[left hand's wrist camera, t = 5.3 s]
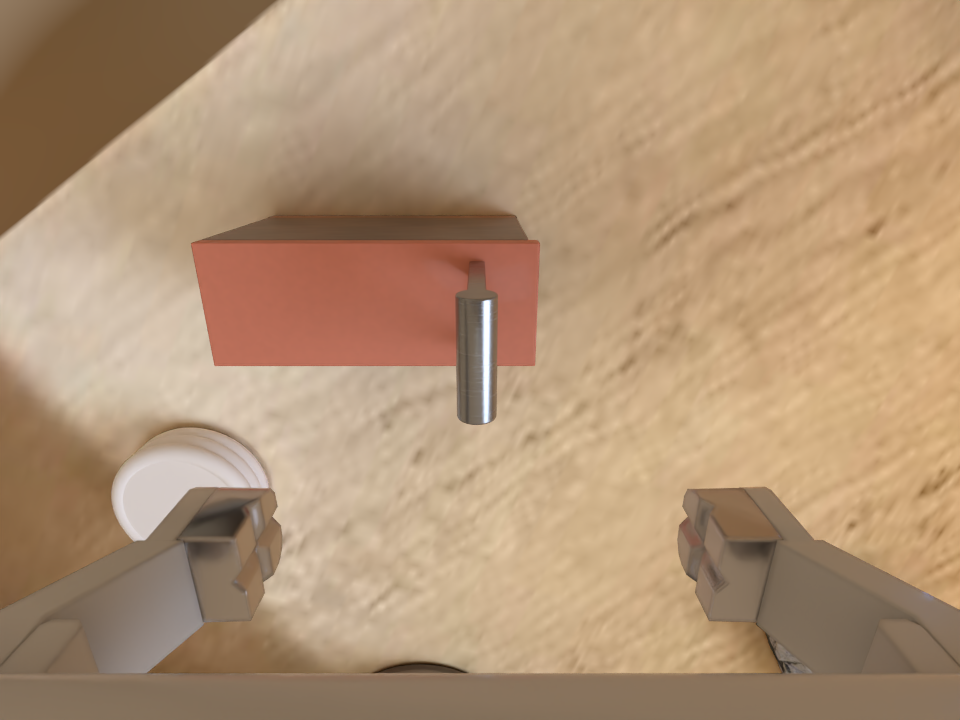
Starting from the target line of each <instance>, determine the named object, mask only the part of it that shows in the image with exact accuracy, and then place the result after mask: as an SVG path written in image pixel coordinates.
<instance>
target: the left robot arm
mask: <svg viewBox="0 0 960 720" xmlns="http://www.w3.org/2000/svg"><path fill="white" fill-rule="evenodd" d="M277 507H278V506H277V501H276V496H275V492H274V491H273V490H272V489H271V488H237V487H221V488H219V487H195V488H192V489H189V490H188V492H187V493H186V494H185V495H184V496H183V497H182V498H181V500H180V501H179V502H178V503H177V504H176V505H175V507H174V508H173V509H172V510H171V511H170V512H169V513H168V515H167V516H166V517H165V518H164V519H163V520H162V522H161V523H160V524H159V525H158V526H157V527H156V529H155V530H154V531H153V532H152V533H151V534H150V535H149V537H148V538H147V539H146V540H137V541H135V542H133V543H131V544H129V545H127V546H125V547H123V548H121V549H119V550H117V551H115V552H113V553H111V554H109V555H107V556H105V557H103V558H101V559H99V560H97V561H95V562H93V563H91V564H89V565H88V566H86V567H84V568H82V569H80V570H78V571H76V572H74V573H72V574H70V575H68V576H66V577H64V578H62V579H60V580H58V581H56V582H54V583H52V584H50V585H48V586H46V587H44V588H42V589H40V590H38V591H36V592H34V593H32V594H30V595H28V596H26V597H24V598H23V599H21V600H19V601H17V602H15V603H13V604H11V605H9V606H7V607H5V608H3V609H1V610H0V720H960V610H959V609H957V608H955V607H953V606H951V605H949V604H947V603H945V602H943V601H941V600H939V599H937V598H935V597H933V596H931V595H929V594H927V593H925V592H923V591H921V590H919V589H918V588H916V587H914V586H912V585H910V584H908V583H906V582H904V581H902V580H900V579H898V578H896V577H894V576H892V575H890V574H888V573H886V572H884V571H882V570H880V569H878V568H876V567H874V566H872V565H870V564H868V563H866V562H864V561H863V560H861V559H859V558H857V557H855V556H853V555H851V554H849V553H847V552H845V551H843V550H841V549H839V548H837V547H835V546H833V545H831V544H829V543H827V542H825V541H823V540H814V539H813V538H812V537H811V535H810V534H809V533H808V532H807V531H806V530H805V529H804V527H803V526H802V525H801V524H800V523H799V522H798V520H797V519H796V518H795V517H794V516H793V515H792V514H791V512H790V511H789V510H788V509H787V508H786V507H785V505H784V504H783V503H782V502H781V501H780V500H779V499H778V497H777V496H776V495H775V494H774V493H773V492H772V490H770V489H768V488H766V487H741V488H713V489H687V491H686V493H685V495H684V500H683V506H682V507H683V509H684V510H685V512H686V514H687V516H688V517H687V518H686V519H685V520H684V521H683V522H682V523H681V524H680V525H679V532H678V551H679V557H680V560H681V564H682V566H683V568H684V571H685V573H686V575H688V576H689V577H690V578H692V579H693V580H695V581H696V582H697V584H696V590H695V593H696V595H697V597H698V599H699V601H700V603H701V605H702V607H703V609H704V612H705V614H706V616H707V618H708V620H709V621H730V622H757V623H756V625H757V626H759V627H760V628H761V629H762V630H763V631H765V632H766V633H767V634H768V635H769V636H770V637H772V638H773V639H774V640H775V641H776V642H778V643H779V644H780V645H781V646H782V647H783V648H785V649H786V650H787V651H788V652H789V653H791V654H792V655H793V656H794V657H795V658H796V659H798V660H799V661H800V662H801V663H802V664H803V665H805V666H806V667H807V668H808V669H809V670H811V671H812V672H813V673H147V672H148V671H150V670H151V669H152V668H153V667H154V666H155V665H157V664H158V663H159V662H160V661H161V660H163V659H164V658H165V657H166V656H167V655H168V654H170V653H171V652H172V651H173V650H174V649H176V648H177V647H178V646H179V645H180V644H181V643H183V642H184V641H185V640H186V639H187V638H189V637H190V636H191V635H192V634H193V633H194V632H196V631H197V630H198V629H199V628H200V627H202V626H203V622H229V621H251V620H252V618H253V616H254V614H255V612H256V610H257V608H258V606H259V603H260V601H261V599H262V597H263V595H264V593H265V590H264V585H263V582H264V581H265V580H267V579H268V578H269V577H271V576H272V575H274V573H275V570H276V568H277V566H278V564H279V560H280V556H281V551H282V531H281V525H280V524H279V523H278V522H277V521H276V520H275V519H274V518H273V517H272V516H273V514H274V512H275V510H276V508H277Z"/></svg>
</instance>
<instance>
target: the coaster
mask: <svg viewBox="0 0 960 720" xmlns="http://www.w3.org/2000/svg"><path fill="white" fill-rule="evenodd" d="M195 487H219V488H221V487H237V488H269V485H268V480H267V477H266V475H265V472H264V470H263V468H262V466H261V464H260V463H259V462H258V460H257V459H256V458H255V456H254V455H253V454H252V453H251V452H250V451H249V450H248V449H247V448H245V447H244V446H243V445H242V444H240V443H239V442H237V441H236V440H234V439H232V438H230V437H228V436H226V435H224V434H222V433H219V432H216V431H212V430H208V429H203V428H193V427H191V428H178V429H173V430H169V431H166V432H164V433H161V434H159V435H157V436H155V437H153V438H152V439H150V440H149V441H148V442H147V443H145V444H144V446H143V447H141V448H140V449H139V450H138V451H136V452H135V453H134V455H132V456H131V457H130V458H128V459H127V460H126V461H125V462H124V464H123V465H122V466H121V467H120V469H119V471H118V472H117V474H116V476H115V479H114V481H113V484H112V491H111V500H112V506H113V510H114V513H115V516H116V518H117V520H118V522H119V524H120V525H121V527H122V528H123V529H124V531H125V532H126V533H127V534H128V536H129V537H130V538H131V539H132V540H133V541H134V542H135V541H137V540H146V539H147V538H148V537H149V535H150V534H151V533H152V532H153V531H154V530H155V529H156V527H157V526H158V525H159V524H160V523H161V522H162V520H163V519H164V518H165V517H166V516H167V515H168V513H169V512H170V511H171V510H172V509H173V508H174V507H175V505H176V504H177V503H178V502H179V501H180V500H181V498H182V497H183V496H184V495H185V494H186V493H187V492H188V490H189V489H192V488H195Z"/></svg>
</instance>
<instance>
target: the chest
mask: <svg viewBox="0 0 960 720" xmlns="http://www.w3.org/2000/svg"><path fill="white" fill-rule="evenodd" d="M202 240H528V238H527V236H526V234H525V233H524V231H523V229H522V227H521V225H520V224H519V222H518V220H517V217H516V216H271V217H268V218H267V219H264V220H261V221H258V222H254V223H251V224H248V225H245V226H242V227H239V228H236V229H233V230H230V231H227V232H224V233H221V234H218V235H215V236H212V237H209V238H205V239H202Z"/></svg>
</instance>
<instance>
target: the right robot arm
mask: <svg viewBox="0 0 960 720" xmlns="http://www.w3.org/2000/svg"><path fill="white" fill-rule="evenodd" d="M378 673H463V672H460V671H457V670H454V669H451V668H447V667H442V666H436V665H422V664H418V665H405V666H399V667H394V668H390V669H387V670H384V671H381V672H378Z"/></svg>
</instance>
